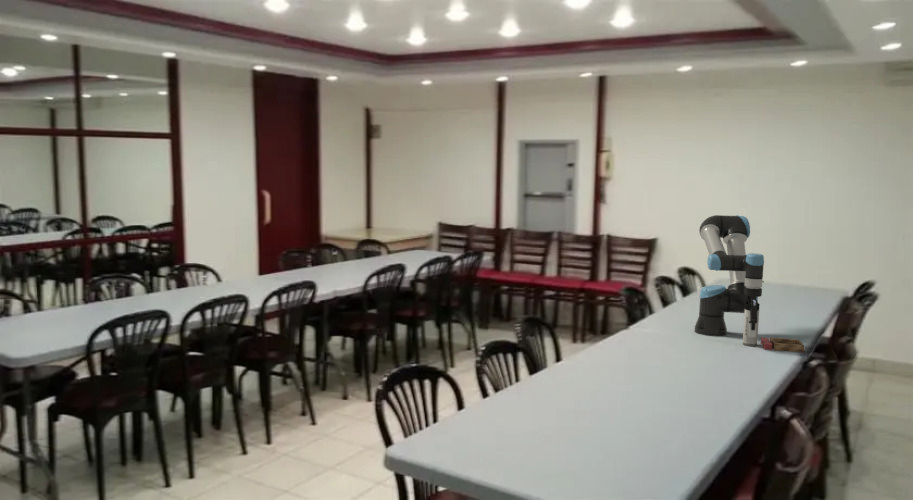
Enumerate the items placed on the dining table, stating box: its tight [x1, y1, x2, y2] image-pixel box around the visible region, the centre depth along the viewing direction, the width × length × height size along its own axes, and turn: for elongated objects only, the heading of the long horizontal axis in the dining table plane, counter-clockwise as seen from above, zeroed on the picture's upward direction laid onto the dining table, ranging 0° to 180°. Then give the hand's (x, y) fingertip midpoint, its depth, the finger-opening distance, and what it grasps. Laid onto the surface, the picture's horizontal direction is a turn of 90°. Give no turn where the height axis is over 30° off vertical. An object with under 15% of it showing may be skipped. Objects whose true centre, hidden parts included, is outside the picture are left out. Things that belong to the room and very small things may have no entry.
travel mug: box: [742, 302, 760, 347], centre depth 329 cm, size 6×7×20 cm
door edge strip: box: [760, 337, 773, 351], centre depth 327 cm, size 3×12×2 cm, turn 165°
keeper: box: [769, 337, 806, 353], centre depth 325 cm, size 13×13×3 cm
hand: (750, 333), depth 330 cm, fingers open, 11 cm apart
